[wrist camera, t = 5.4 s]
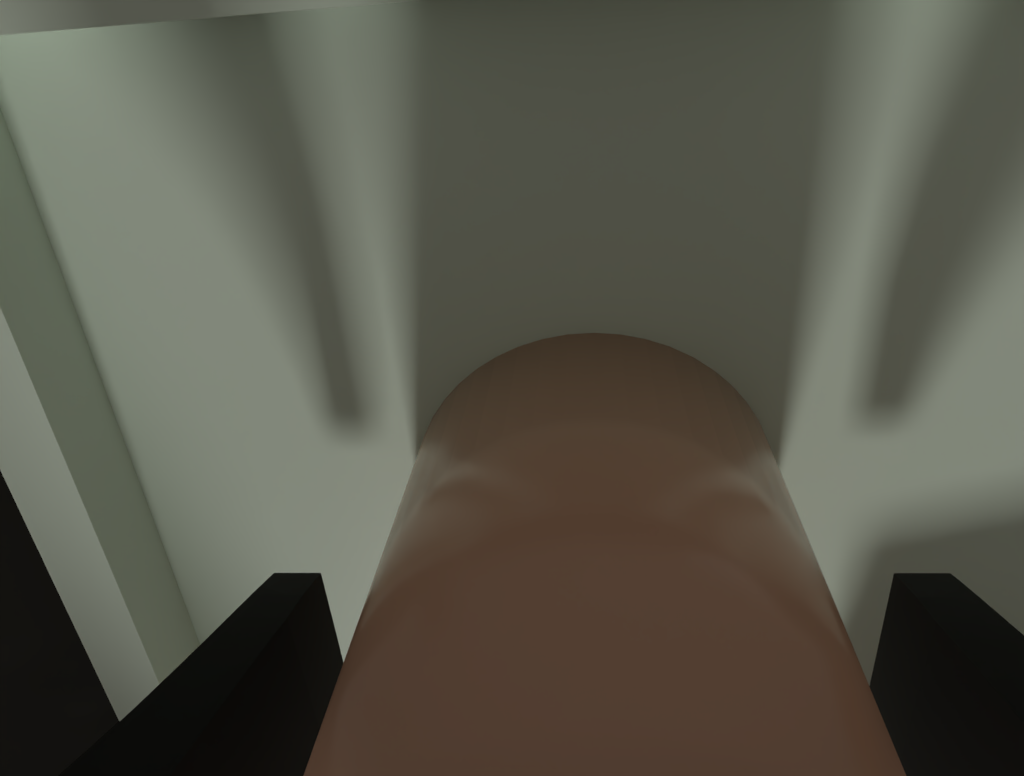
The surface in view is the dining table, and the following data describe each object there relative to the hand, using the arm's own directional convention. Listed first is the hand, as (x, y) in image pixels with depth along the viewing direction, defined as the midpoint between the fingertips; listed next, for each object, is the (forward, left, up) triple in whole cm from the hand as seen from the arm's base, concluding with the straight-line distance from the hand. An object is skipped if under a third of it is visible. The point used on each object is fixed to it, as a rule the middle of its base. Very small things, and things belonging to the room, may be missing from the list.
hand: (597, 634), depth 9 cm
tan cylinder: (0, 0, -2) cm, 2 cm away
